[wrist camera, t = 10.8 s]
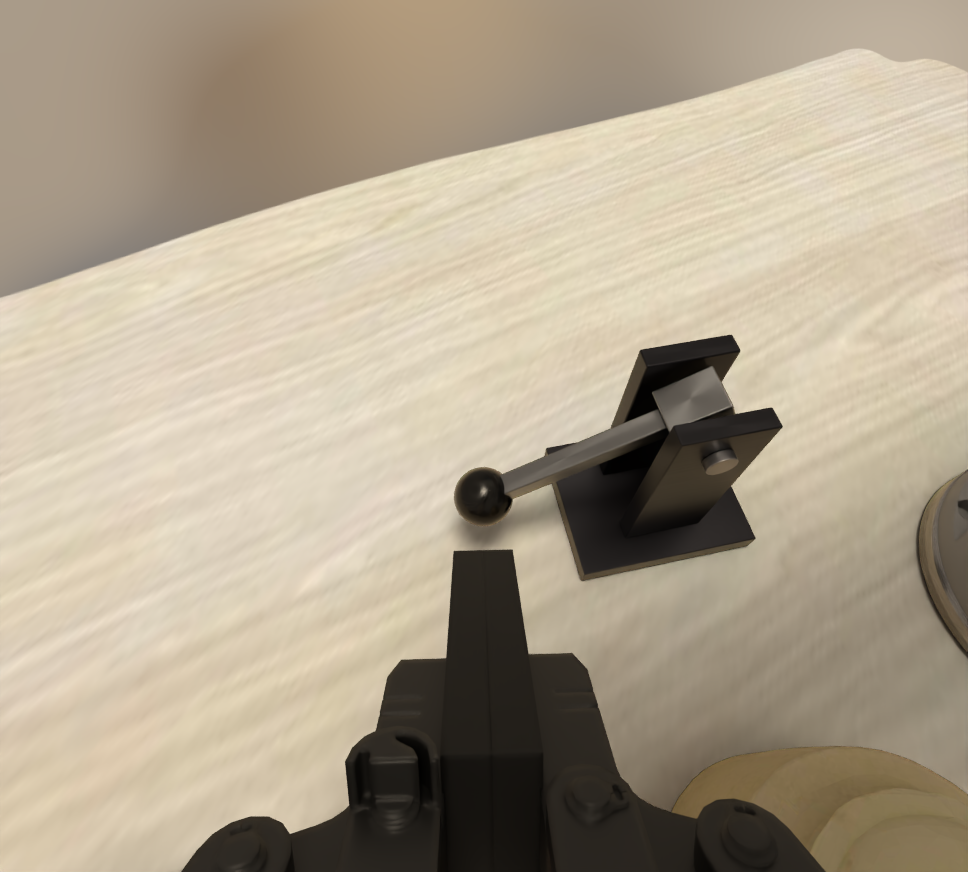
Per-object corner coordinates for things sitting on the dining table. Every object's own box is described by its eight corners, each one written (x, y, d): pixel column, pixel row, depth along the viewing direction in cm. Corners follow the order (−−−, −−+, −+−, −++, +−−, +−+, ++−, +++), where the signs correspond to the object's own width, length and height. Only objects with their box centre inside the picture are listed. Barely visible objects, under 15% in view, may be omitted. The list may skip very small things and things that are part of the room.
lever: (477, 540, 30) (448, 526, 28) (466, 489, 32) (438, 472, 29) (743, 437, 26) (737, 411, 24) (716, 384, 27) (708, 354, 25)
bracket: (580, 581, 32) (627, 492, 22) (544, 457, 36) (568, 333, 26) (747, 546, 33) (865, 446, 23) (694, 429, 37) (775, 299, 27)
